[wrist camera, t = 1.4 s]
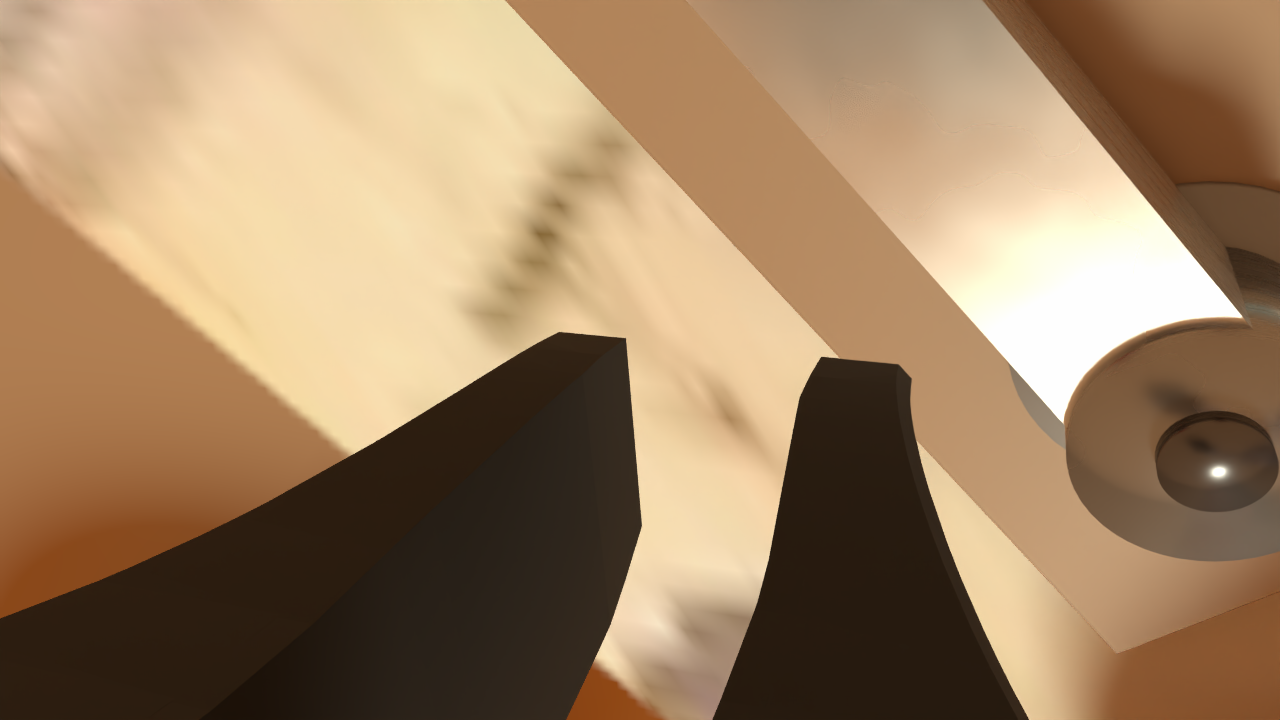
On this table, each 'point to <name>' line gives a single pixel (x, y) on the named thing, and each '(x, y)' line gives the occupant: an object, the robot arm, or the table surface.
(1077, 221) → the lock bar
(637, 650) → the table surface
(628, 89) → the door board
